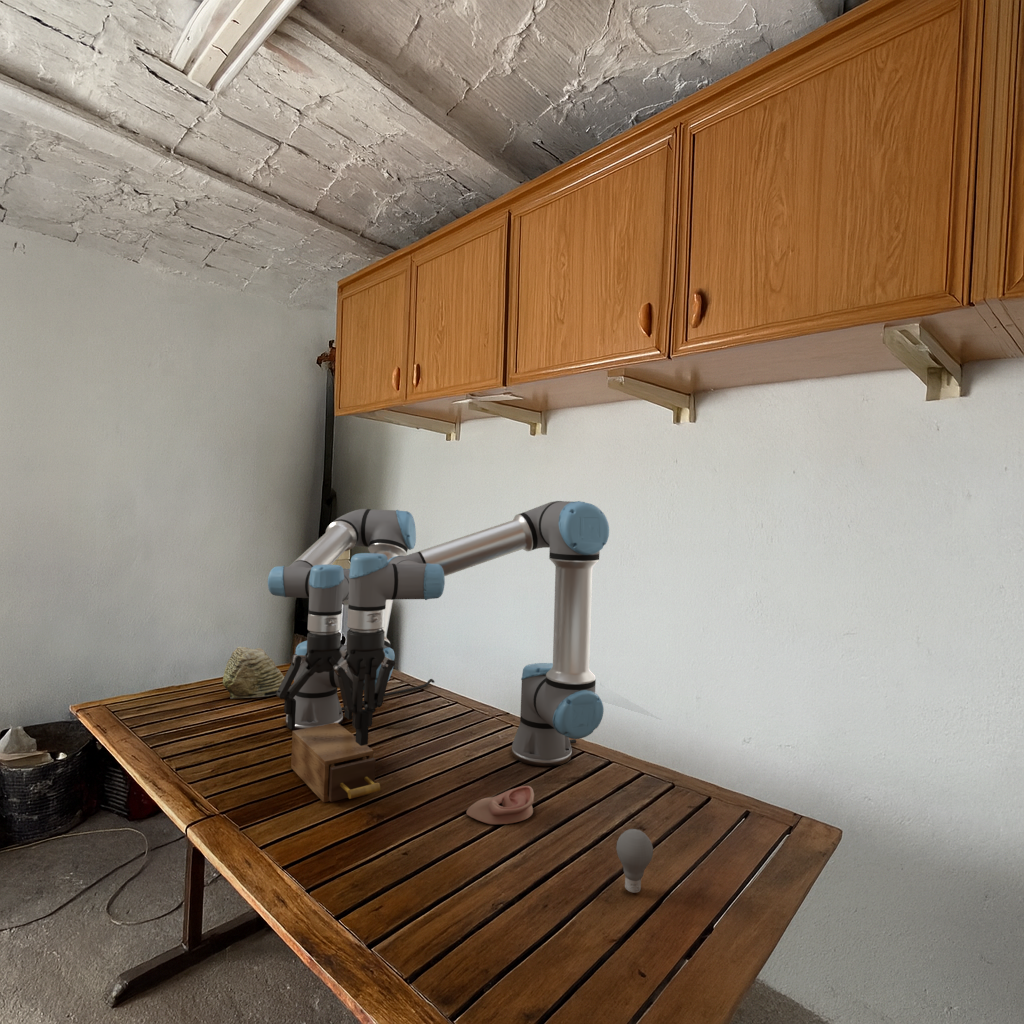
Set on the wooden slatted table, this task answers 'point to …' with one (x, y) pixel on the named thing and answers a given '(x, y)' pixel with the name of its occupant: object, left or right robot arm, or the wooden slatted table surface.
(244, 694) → the fossil
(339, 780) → the drawer
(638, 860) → the light bulb
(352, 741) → the cabinet
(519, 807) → the anatomical model
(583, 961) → the wooden slatted table surface
